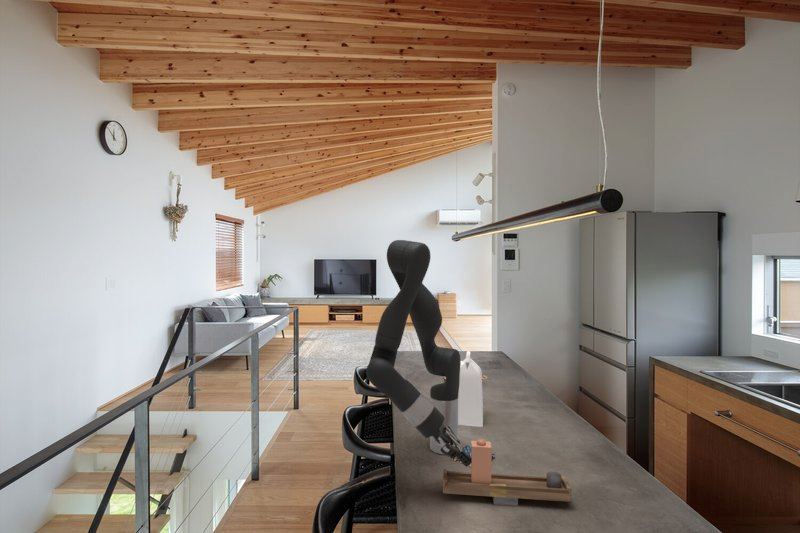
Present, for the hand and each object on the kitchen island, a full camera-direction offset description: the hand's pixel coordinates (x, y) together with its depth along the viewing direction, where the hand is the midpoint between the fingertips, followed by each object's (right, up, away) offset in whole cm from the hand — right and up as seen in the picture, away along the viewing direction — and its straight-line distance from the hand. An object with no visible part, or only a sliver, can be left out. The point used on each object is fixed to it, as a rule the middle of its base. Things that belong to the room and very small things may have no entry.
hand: (469, 462), depth 112 cm
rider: (+3, -5, 0) cm, 6 cm away
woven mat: (+5, -9, +21) cm, 23 cm away
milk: (+8, -8, +53) cm, 54 cm away
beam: (+9, -9, -1) cm, 13 cm away
